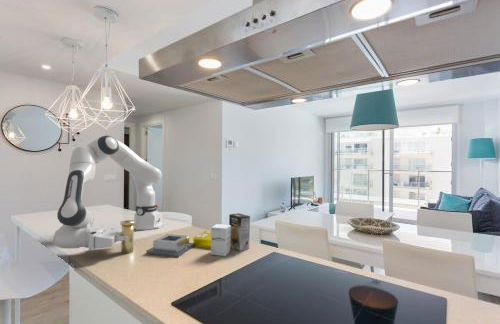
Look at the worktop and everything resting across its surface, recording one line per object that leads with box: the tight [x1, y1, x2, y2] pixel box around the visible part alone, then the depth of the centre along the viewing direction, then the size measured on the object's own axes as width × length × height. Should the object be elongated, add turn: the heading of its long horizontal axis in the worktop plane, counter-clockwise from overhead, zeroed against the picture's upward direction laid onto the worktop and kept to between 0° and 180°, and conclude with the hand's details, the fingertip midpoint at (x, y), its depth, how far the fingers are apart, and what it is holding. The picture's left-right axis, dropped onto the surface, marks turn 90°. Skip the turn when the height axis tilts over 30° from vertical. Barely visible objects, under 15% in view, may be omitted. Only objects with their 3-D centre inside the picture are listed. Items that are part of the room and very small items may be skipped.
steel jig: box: [146, 233, 195, 258], centre depth 122 cm, size 16×16×6 cm
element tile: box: [192, 230, 211, 249], centre depth 133 cm, size 15×15×5 cm
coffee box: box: [228, 212, 251, 252], centre depth 127 cm, size 9×6×16 cm
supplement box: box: [210, 223, 231, 257], centre depth 118 cm, size 7×7×13 cm
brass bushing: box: [120, 219, 135, 255], centre depth 118 cm, size 6×6×14 cm
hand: (129, 235), depth 118 cm, fingers closed on brass bushing, 5 cm apart
